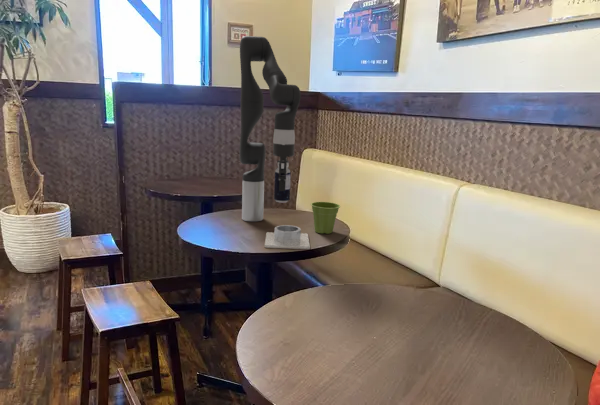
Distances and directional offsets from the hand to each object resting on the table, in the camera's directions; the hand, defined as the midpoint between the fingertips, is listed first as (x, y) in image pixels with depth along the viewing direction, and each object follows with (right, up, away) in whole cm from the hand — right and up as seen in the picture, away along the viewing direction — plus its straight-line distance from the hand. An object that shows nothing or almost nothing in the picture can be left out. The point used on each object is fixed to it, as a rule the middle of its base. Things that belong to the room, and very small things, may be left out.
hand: (282, 189), depth 164 cm
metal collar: (+2, -19, +4) cm, 20 cm away
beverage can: (0, -5, +1) cm, 5 cm away
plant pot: (+16, -17, +20) cm, 31 cm away
